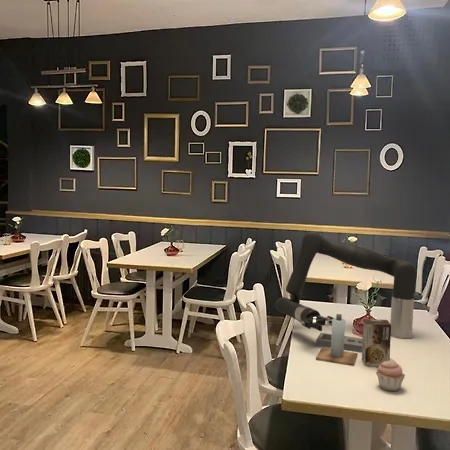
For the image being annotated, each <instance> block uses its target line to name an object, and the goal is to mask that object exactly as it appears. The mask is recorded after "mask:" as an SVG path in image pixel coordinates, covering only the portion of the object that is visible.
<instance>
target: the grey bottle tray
mask: <svg viewBox="0 0 450 450" xmlns="http://www.w3.org/2000/svg"><path fill="white" fill-rule="evenodd" d="M331 336H332V333H326V332H320V333H319V334H318V336H317V338H316V339H315V346H317V347H318V346H319V347H323V348H329V349H331ZM362 342H363V337H362V338H361V337H355V336H349V335H344V351H349V352H356V353H362Z"/></svg>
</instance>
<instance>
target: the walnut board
mask: <svg viewBox="0 0 450 450" xmlns="http://www.w3.org/2000/svg"><path fill="white" fill-rule="evenodd" d="M358 353H359V352H354V351H348V350H344V353H343V357H341V358H337V357H333V356H331V348H328V347H321V348H320V350H319V352H318V353H317V356H316V357H315V360H316V361H322V362H329V363H334V364H340V365H345V366H346V365H347V366H351V367H354V366H355V364H356V360H357V357H358Z"/></svg>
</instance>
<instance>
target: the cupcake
mask: <svg viewBox="0 0 450 450" xmlns="http://www.w3.org/2000/svg"><path fill="white" fill-rule="evenodd" d="M377 367H378V368H377V369H376V371H375V374H376V376H377V380H378V384H379V387H380V388H381V389H382V390H385V391H387V392H388V391H389V392H397V391H399V390H400V389H401V387H402V384H403V381H404V379H405V378H406V374H404V373H403V368H402V366H401V365H400V364H399V363H397V361H396V360H394V359H393V358H391V357H390V359H389V361H385V362H383V363H382V364H381V365H379V366H377Z"/></svg>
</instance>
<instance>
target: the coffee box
mask: <svg viewBox="0 0 450 450" xmlns="http://www.w3.org/2000/svg"><path fill="white" fill-rule="evenodd" d="M362 327H363V328H362V338H363V342H362V352H361V361H362V363H363V367H364V366H365V367H379V365H381V364H382V363H383V362H385V361H389V359H390V358H391V339H392V338H391V337H392V335H391V324H390V321H389V320H388V319H377V318H375V319H373V318H372V319H371V318H363V326H362Z"/></svg>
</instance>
